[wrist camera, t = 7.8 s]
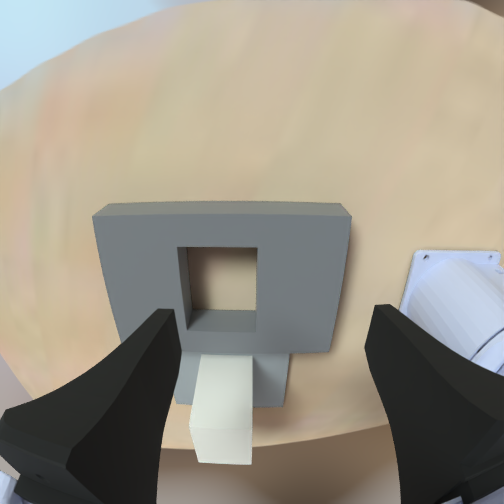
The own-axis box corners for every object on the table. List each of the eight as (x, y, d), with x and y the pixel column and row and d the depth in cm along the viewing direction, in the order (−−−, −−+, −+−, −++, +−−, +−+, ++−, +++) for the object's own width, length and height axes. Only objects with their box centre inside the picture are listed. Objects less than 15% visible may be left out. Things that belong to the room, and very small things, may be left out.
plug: (252, 355, 24) (252, 429, 17) (251, 398, 26) (251, 464, 20) (201, 354, 24) (188, 426, 17) (207, 396, 26) (198, 462, 20)
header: (340, 203, 19) (351, 216, 17) (322, 330, 23) (328, 352, 21) (108, 203, 19) (91, 216, 17) (132, 326, 23) (122, 346, 21)
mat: (289, 340, 24) (290, 345, 23) (282, 402, 27) (282, 407, 27) (163, 337, 24) (161, 342, 23) (177, 398, 27) (176, 403, 27)
